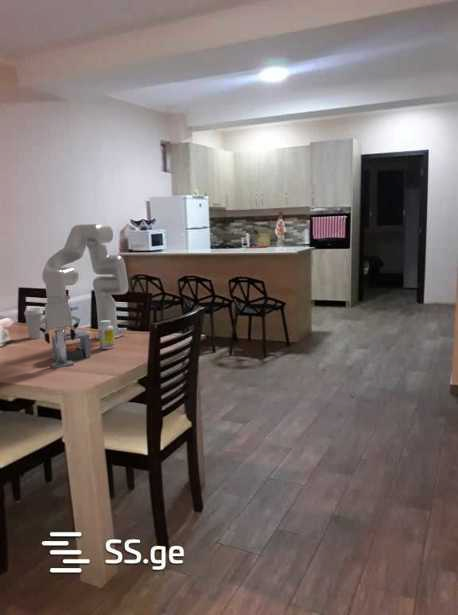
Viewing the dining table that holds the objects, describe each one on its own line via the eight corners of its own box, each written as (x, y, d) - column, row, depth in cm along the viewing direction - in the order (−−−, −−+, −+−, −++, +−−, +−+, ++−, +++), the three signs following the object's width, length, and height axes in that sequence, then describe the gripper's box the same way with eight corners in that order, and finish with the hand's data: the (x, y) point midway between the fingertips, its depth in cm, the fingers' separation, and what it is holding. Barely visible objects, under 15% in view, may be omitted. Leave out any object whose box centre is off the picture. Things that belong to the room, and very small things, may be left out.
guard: (85, 353, 227) (84, 331, 225) (90, 357, 219) (89, 334, 217) (53, 357, 220) (51, 335, 218) (57, 362, 212) (55, 339, 211)
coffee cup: (49, 336, 265) (47, 308, 262) (34, 340, 257) (31, 311, 254) (38, 334, 270) (35, 307, 267) (22, 338, 262) (19, 310, 260)
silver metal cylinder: (66, 361, 211) (63, 328, 208) (68, 363, 207) (65, 330, 205) (56, 362, 209) (53, 329, 206) (58, 365, 205) (55, 331, 203)
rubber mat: (70, 361, 213) (70, 359, 212) (74, 365, 207) (73, 363, 207) (51, 364, 209) (51, 363, 209) (54, 368, 204) (53, 366, 203)
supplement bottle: (117, 346, 237) (115, 319, 235) (109, 349, 231) (107, 322, 229) (105, 345, 240) (103, 319, 238) (97, 349, 233) (95, 322, 231)
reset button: (76, 352, 223) (75, 346, 222) (78, 355, 218) (78, 348, 218) (65, 354, 220) (64, 347, 220) (67, 356, 216) (66, 349, 216)
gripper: (76, 297, 211) (79, 336, 214) (32, 301, 203) (36, 342, 206) (80, 299, 205) (83, 339, 207) (35, 303, 196) (39, 346, 199)
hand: (60, 341), depth 206 cm, fingers open, 9 cm apart
